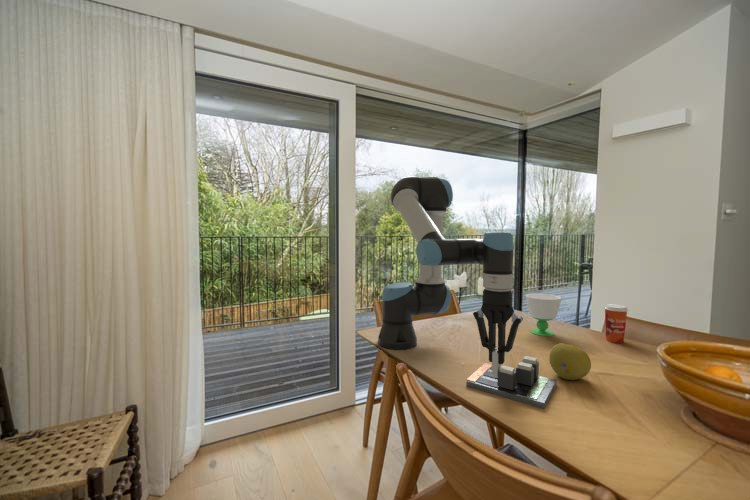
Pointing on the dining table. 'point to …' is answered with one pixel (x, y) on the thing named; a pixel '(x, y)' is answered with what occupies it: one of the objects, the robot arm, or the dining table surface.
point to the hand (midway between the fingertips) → (496, 374)
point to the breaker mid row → (525, 373)
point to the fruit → (569, 361)
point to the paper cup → (615, 322)
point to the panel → (522, 393)
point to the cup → (543, 311)
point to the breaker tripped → (506, 377)
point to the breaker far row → (534, 364)
